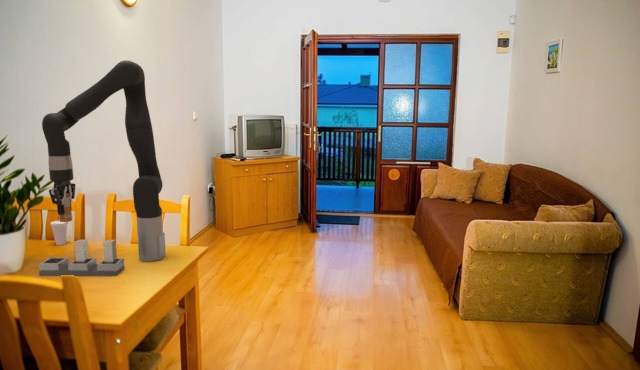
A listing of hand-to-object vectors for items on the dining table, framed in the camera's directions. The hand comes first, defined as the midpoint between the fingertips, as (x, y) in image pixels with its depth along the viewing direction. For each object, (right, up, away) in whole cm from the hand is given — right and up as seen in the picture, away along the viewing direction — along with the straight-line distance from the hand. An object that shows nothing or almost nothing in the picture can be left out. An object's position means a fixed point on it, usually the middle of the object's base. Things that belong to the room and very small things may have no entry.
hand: (65, 212), depth 162 cm
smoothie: (-15, -15, +23) cm, 31 cm away
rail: (+11, -21, -7) cm, 24 cm away
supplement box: (0, -4, +1) cm, 3 cm away
